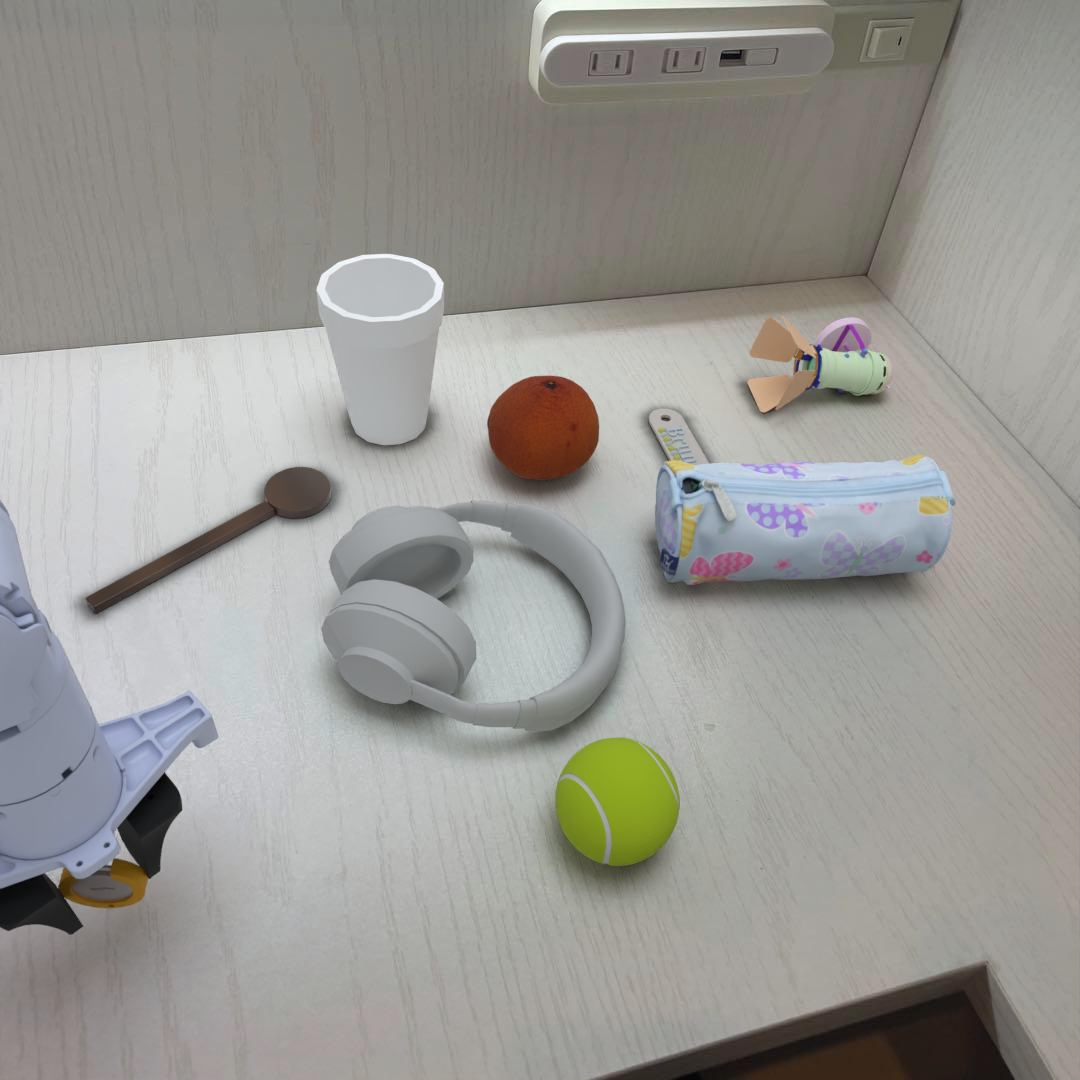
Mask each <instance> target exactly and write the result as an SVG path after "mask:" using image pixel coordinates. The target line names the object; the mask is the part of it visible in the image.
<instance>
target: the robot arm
mask: <svg viewBox="0 0 1080 1080" xmlns="http://www.w3.org/2000/svg"><path fill="white" fill-rule="evenodd" d="M7 509H8V508H7V507H6V505H4V503H3V502H2V500H1V499H0V929H2V930H4V931H7V932H10V931H13V930H15V929H17V928H21V927H25V926H32V925H33V926H34V925H37V926H39V925H40V926H46V927H50V928H54V929H56V930H59V931H62V932H64V933H66V934H67V935H70V936H72V935H75V933H77V932H78V931H80V930H81V929H82V928H84V927H85V926H84V924H83V923H82V922H81V920H80V919H79V917H78V916H77V914H76V912H75V911H74V910H73V908H72V907H71V905H70V904H69V902H68V901H67V899H66V898H65V897H64V896H63V895H62V893H61V892H60V890H59V889H58V885H57V884H55V882H54V881H53V880H52V879H51V878H50V877H49V876H48V875H47V874H46V873H49V872H52V871H55V870H58V869H61V868H62V869H63V868H66V869H67V870H68V871H69V872H70V873H71V875H72V876H73V877H75V878H76V879H84V878H86V877H88V876H90V875H92V874H93V873H95V872H96V871H97V870H99V869H100V868H102V867H103V866H105V865H108V864H109V863H111V862H113V859H114V858H117V857H118V855H119V854H120V852H121V845H120V842H119V840H118V838H117V837H116V836H115V833H116V830H117V831H118V834H119V837H120V840H121V841H122V843H123V845H124V847H125V848H126V849H127V851H128V853H129V854H130V855H131V857H132V858H133V860H134V861H135V862H136V865H138V866H140V867H141V868H143V869H144V870H145V872H146V874H147V876H148V880H150V879H152V878H153V877H154V876H157V874H159V873H160V872H161V864H162V863H161V861H162V851H163V846H164V841H165V839H166V835H167V833H168V831H169V829H170V827H171V826H172V824H173V822H174V821H175V820H176V818H177V817H178V816H179V815H180V814H181V813H182V812H183V800H182V795H181V793H180V791H179V789H178V787H177V786H176V785H175V783H174V782H173V780H171V778H170V777H169V776H168V774H167V773H166V771H167V770H168V769H169V768H170V767H171V766H172V764H174V762H175V761H176V759H178V757H179V756H180V755H181V754H182V752H184V751H185V749H186V748H187V747H188V746H189V745H190V744H191V743H192V744H193V745H194V746H195V747H196V748H197V749H203V748H205V747H207V746H208V745H210V744H211V743H213V742H214V741H216V740H217V739H218V738H219V733H218V730H217V727H216V723H215V721H214V718H213V715H212V714H211V712H210V711H209V710H208V709H207V708H206V707H205V705H204V704H203V703H202V702H201V701H200V700H199V698H197V696H196V695H195V694H194V693H193V692H192V690H186V692H184V693H182V694H180V695H178V696H176V697H175V698H173V699H170V700H168V701H166V702H164V703H162V704H159V705H156V706H153V707H150V708H148V709H145V710H140V711H138V712H135V713H131V714H128V715H125V716H122V717H118V718H116V719H112V720H109V721H106V722H103V723H99V722H98V720H97V718H96V715H95V713H94V711H93V708H92V706H91V704H90V701H89V699H88V698H87V695H86V693H85V691H84V689H83V686H82V685H81V682H80V681H79V679H78V676H77V674H76V672H75V670H74V668H73V665H72V664H71V661H70V660H69V659H70V658H69V657H68V655H67V653H66V651H65V648H64V646H63V645H62V642H61V641H60V639H59V638H58V636H57V635H56V634H55V632H54V631H53V630H52V629H51V626H50V623H49V621H48V618H47V616H46V615H45V614H44V613H43V611H42V610H41V609H39V607H38V605H37V603H36V602H35V599H34V597H33V595H32V590H31V588H30V587H31V586H30V583H29V579H28V574H27V571H26V570H27V569H26V566H25V561H24V557H23V555H22V551H21V546H20V542H19V537H18V534H17V529H16V527H15V524H14V522H13V520H12V518H11V517H10V513H9V511H8V510H7Z"/></svg>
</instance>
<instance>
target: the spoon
mask: <svg viewBox="0 0 1080 1080" xmlns="http://www.w3.org/2000/svg"><path fill="white" fill-rule="evenodd" d="M331 487H332V486H331V482H330V479H329V478H328V477H327V476H326V474H325V473H323V472H322V471H320V470H318V469H316V468H312V467H308V466H293V467H289V468H285V469H283V470H282V469H281V470H280V471H278V472H276V473H275V474H273V475H272V476H271V477H270V478H269V479H268V480H267V482H266V483H265V485H264V488H263V494H264V499H265V500H264V501H261V502H260V503H258V504H256V505H255V506H253V507H251V508H249V509H247V510H245V511H243V512H241V513H239V514H237V515H236V516H234V517H232V518H230V519H229V520H227V521H225V522H223V523H220V524H219V525H217V526H215V527H214V528H212V529H210V530H208V531H206V532H204V533H203V534H200V535H199V536H197V537H195V538H192V539H191V540H190V541H188V542H186V543H184V544H182V545H180V546H178V547H176V548H175V549H173V550H171V551H169V552H167V553H166V554H163V555H162V556H159V557H158V558H156V559H154V560H153V561H151V562H149V563H147V564H145V565H143V566H141V567H140V568H138V569H136V570H134V571H132V572H130V573H128V574H126V575H125V576H123V577H121V578H119V579H117V580H115V581H113V582H111V583H110V584H108V585H106V586H104V587H102V588H101V589H99V590H97V591H95V592H93V593H91V594H89V595H88V596H86V597H85V601H86V603H87V605H88V606H89V607H90V609H91V610H92V611H93V612H94V613H95V614H98V613H100V612H102V611H103V610H106V609H108V608H109V607H111V606H113V605H114V604H116V603H118V602H120V601H122V600H124V599H125V598H127V597H129V596H131V595H133V594H135V593H136V592H138V591H141V589H143V588H146V587H147V586H150V585H151V584H153V583H154V582H156V581H158V580H160V579H161V578H163V577H165V576H167V575H169V574H171V573H173V572H174V571H176V570H178V569H180V568H181V567H183V566H185V565H187V564H188V563H190V562H193V561H194V560H196V559H198V558H199V557H201V556H203V555H205V554H207V553H208V552H210V551H212V550H214V549H216V548H218V547H219V546H222V545H223V544H225V543H227V542H228V541H231V540H232V539H234V538H235V537H238V536H239V535H241V534H243V533H245V532H246V531H249V530H251V529H253V528H255V527H256V526H258V525H259V524H261V523H264V522H265V521H267V520H269V519H270V518H272V517H274V516H275V515H278V516H279V517H283V518H288V519H303V518H308V517H312V516H313V515H316V514H318V513H320V512H321V511H322V510H324V509H325V508H326V507H327V506H328V504H329V503H330V501H331V497H332V488H331Z"/></svg>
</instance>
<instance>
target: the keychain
mask: <svg viewBox="0 0 1080 1080" xmlns="http://www.w3.org/2000/svg"><path fill="white" fill-rule="evenodd" d="M663 418H665V419H668V421H666V420H663ZM648 423H649V425H650V428H651V429H652V431H653V433H654V435H655V437H656V438H657V441H658V443H659V444H660V446H661V448H662V450H663V451H664V454H665V455H666V457H667V459H668V461H672V460H676V461H682V462H686V463H689V464H693V465H700V464H710V462H709V460H708V459H707V457H706V455H705V453H704V452H703V450H702V448H701V446H700V445H699V443H698V441H697V440H696V438H695V436H694V434H693V433H692V431H691V429H690V428H689V425H688V424H687V423H686V421H685V419H684V417H683V415H682V414H681V413H679V412H678V411H677V410H674V409H671V408H666V407H664V408H663V407H662V408H657V409H654V410H653V411H651V413H649V417H648Z"/></svg>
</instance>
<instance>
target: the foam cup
mask: <svg viewBox="0 0 1080 1080" xmlns="http://www.w3.org/2000/svg"><path fill="white" fill-rule="evenodd" d="M315 291H316V298H317V307H318V315H319V318H320V321H321V322H322V324H323V327H324V328H325V332H326V335H327V339H328V343H329V347H330V350H331V351H330V352H331V354H332V357H333V362H334V365H335V368H336V373H337V377H338V380H339V383H340V387H341V392H342V395H343V399H344V402H345V406H346V409H347V413H348V418H349V420H350V422H351V423H350V424H351V426H352V428H353V430H354V432H355V434H356V435H357V436H359V437H360V438H361V439H363V440H364V441H366V442H368V443H371V444H376V445H380V446H395V445H403V444H405V443H408V442H410V441H412V440H413V441H414V440H415V439H417V438H418V437H419V436H420V435H421V434H422V433H423V431H425V429H426V425H427V419H428V414H429V407H430V399H431V393H432V385H433V384H432V383H433V377H434V369H435V363H436V362H435V361H436V354H437V348H438V347H437V346H438V340H439V332H440V327H441V326H442V323H443V318H444V313H445V283H444V281H443V279H442V278H441V277H440V275H439V274H438V273H437V271H436V269H435V268H433V267H431V266H429V265H427V264H426V263H424V262H423V261H420V260H418V259H416V258H413V257H408V256H403V255H397V254H392V253H377V254H374V253H373V254H361V255H358V256H354V257H352V258H351V257H350V258H348V259H344V260H340V261H337V263H335V264H334V265H332V266H331V267H330V268H328V269H327V270H325V271H324V272H323V273H321V275H320V278H319V281H318V284H317V287H316V290H315Z"/></svg>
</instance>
